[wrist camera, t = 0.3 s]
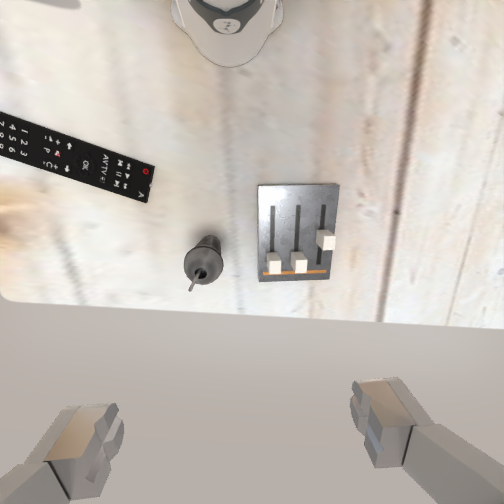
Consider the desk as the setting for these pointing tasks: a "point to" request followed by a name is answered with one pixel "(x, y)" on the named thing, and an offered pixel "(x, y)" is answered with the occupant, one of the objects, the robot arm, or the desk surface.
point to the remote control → (74, 158)
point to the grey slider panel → (295, 228)
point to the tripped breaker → (325, 239)
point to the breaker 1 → (273, 263)
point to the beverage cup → (204, 262)
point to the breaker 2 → (298, 262)
